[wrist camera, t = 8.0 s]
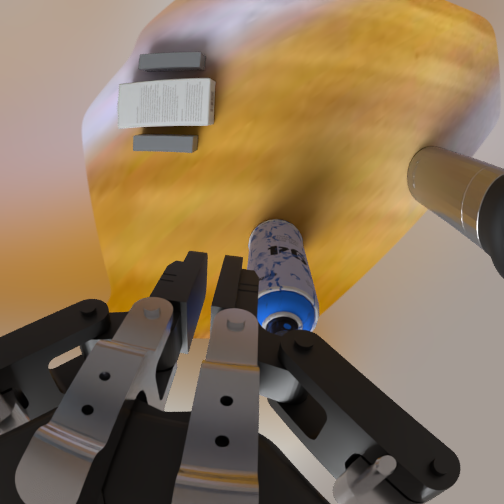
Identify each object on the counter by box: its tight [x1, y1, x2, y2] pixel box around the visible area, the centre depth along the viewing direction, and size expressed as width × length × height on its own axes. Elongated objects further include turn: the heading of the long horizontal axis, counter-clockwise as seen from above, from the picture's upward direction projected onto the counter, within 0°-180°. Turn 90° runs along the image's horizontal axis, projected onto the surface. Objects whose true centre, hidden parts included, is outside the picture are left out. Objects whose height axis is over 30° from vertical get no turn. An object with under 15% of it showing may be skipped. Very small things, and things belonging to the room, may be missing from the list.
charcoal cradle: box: [133, 52, 206, 153], centre depth 33 cm, size 8×13×3 cm, turn 174°
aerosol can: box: [247, 219, 319, 336], centre depth 34 cm, size 8×8×20 cm
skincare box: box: [117, 78, 216, 129], centre depth 33 cm, size 6×4×12 cm
